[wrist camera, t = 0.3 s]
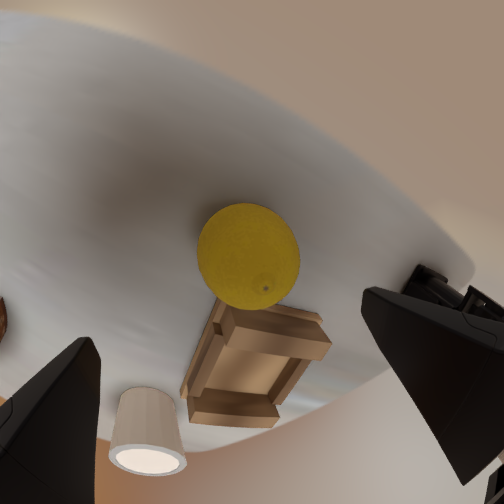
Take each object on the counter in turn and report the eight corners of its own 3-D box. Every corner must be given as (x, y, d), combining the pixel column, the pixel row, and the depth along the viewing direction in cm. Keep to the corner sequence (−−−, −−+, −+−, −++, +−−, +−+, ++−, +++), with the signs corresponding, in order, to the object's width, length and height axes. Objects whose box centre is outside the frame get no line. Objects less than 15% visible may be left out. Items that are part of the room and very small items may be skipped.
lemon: (186, 200, 18) (191, 242, 11) (268, 186, 19) (322, 217, 12) (201, 275, 21) (216, 349, 13) (276, 260, 21) (323, 321, 14)
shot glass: (116, 418, 24) (113, 472, 18) (111, 378, 22) (102, 439, 16) (178, 425, 26) (184, 478, 20) (183, 386, 24) (190, 448, 18)
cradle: (317, 314, 24) (338, 341, 21) (264, 400, 28) (275, 429, 24) (220, 290, 21) (230, 321, 18) (180, 390, 24) (183, 423, 21)
